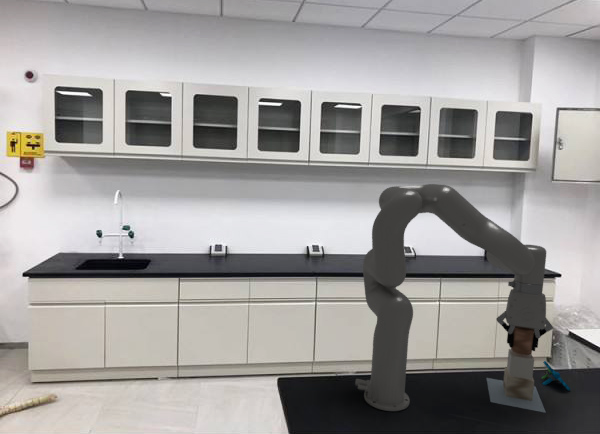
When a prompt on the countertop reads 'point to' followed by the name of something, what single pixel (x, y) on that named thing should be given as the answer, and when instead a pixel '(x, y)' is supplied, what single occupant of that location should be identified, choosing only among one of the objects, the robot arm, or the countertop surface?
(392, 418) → the countertop surface
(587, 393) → the countertop surface
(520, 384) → the lower block
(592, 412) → the countertop surface
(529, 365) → the upper block
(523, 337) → the cylinder
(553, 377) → the blue angular piece
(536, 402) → the mat
